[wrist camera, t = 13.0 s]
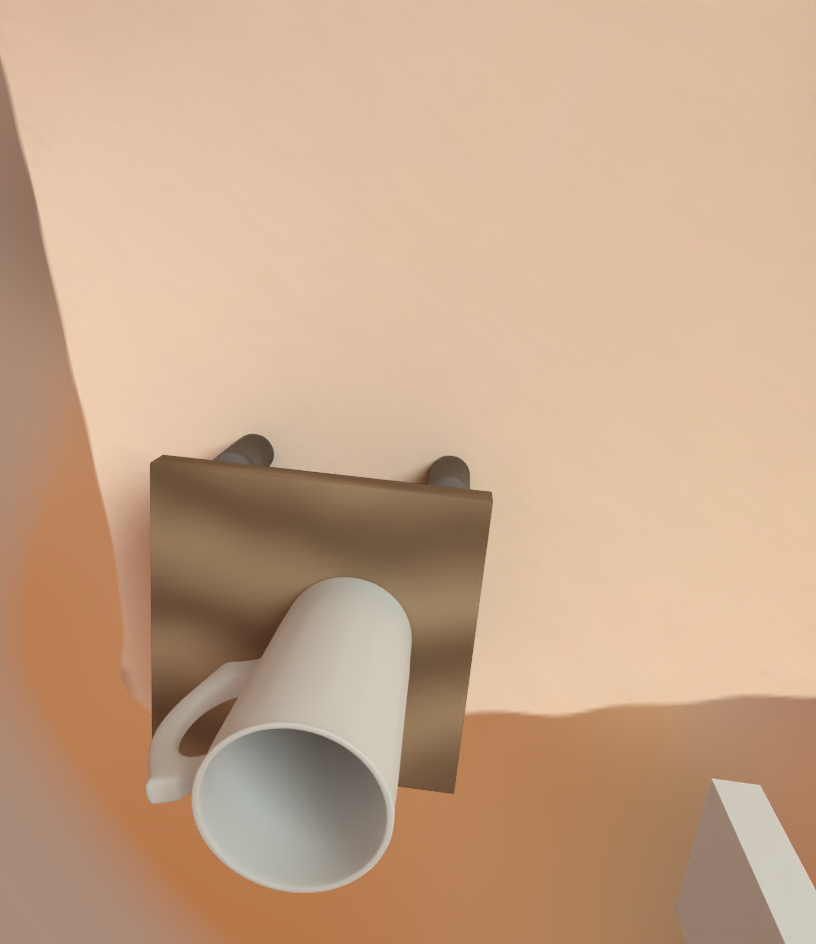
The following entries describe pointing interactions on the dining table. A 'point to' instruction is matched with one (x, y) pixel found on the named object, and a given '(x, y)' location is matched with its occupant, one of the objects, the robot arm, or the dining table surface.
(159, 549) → the small wooden stand
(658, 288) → the dining table surface
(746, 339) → the dining table surface
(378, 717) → the mug
